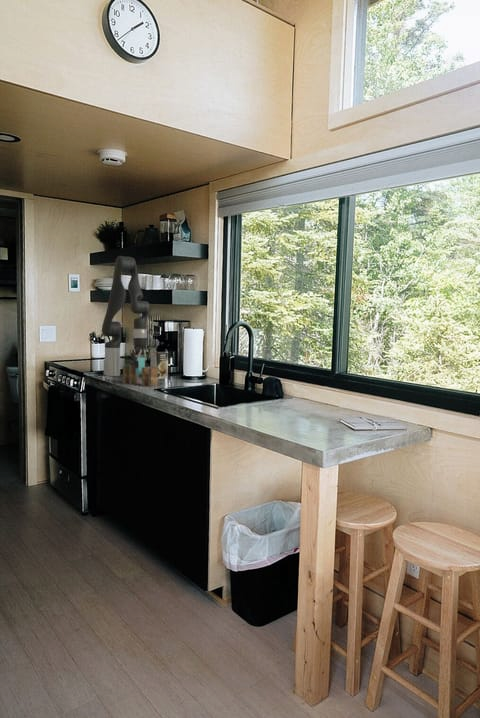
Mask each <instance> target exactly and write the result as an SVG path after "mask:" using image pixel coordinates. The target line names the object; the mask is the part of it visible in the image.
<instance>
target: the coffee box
mask: <svg viewBox="0 0 480 718" xmlns="http://www.w3.org/2000/svg"><path fill="white" fill-rule="evenodd" d="M150 367H151V368H155V367H156V368H158V380H163V379H168V377H169V372H168V371H169V352H167V351H166V352H165V351H154V352H153V351H152V352H151V351H150Z"/></svg>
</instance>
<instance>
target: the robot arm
mask: <svg viewBox="0 0 480 718" xmlns="http://www.w3.org/2000/svg"><path fill="white" fill-rule="evenodd" d="M123 273H125V274H126V273H127V274H130V280H129V281H128V285H127V291H128V294H129V297H130V310H131V312H132V313H133V314H137V315H138V314H140V315H141V316H139V317H136V318H135V319H133V349H130V350H129V355H130V358H131V361H134V362H133V363H134V365H133V366H135V368H138V367H139V361H138V360H139V357H144V358H145V367H147V360H150V356H151V348H147V346H148V330H147V329H148V328H147V327H148V317H149V314H150V310H151V305H150V303H149V302H148V301H146V300H143V299H144V293H143V292H142V288H141V284H140V279H139V273H138V267H137V262H136V259H135V258H134V257H133V256H132V257H131V256H122V255H118V256H117V257H116V258H115V263H114V271H113V278H112V283H111V284H112V285H111V289H110V291H109V292H110V293H109V297H108V303H107V308H106V312H105V315H104V318H103V323H102V326H101V334H102V336H103V337H112V339H110V340H109V341H107V342H105V343H104V359H103V376H106V377H118V376H121V343H122V324H121V323H120V322H119V321H114V317H115V316H116V315H117V314H118V312H119V311H121V309H122V308H123V307H124V306H125V302H126V296H127V291H126V289H125V286H124V285H123V281H122V274H123ZM136 357H137V359H136Z"/></svg>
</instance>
